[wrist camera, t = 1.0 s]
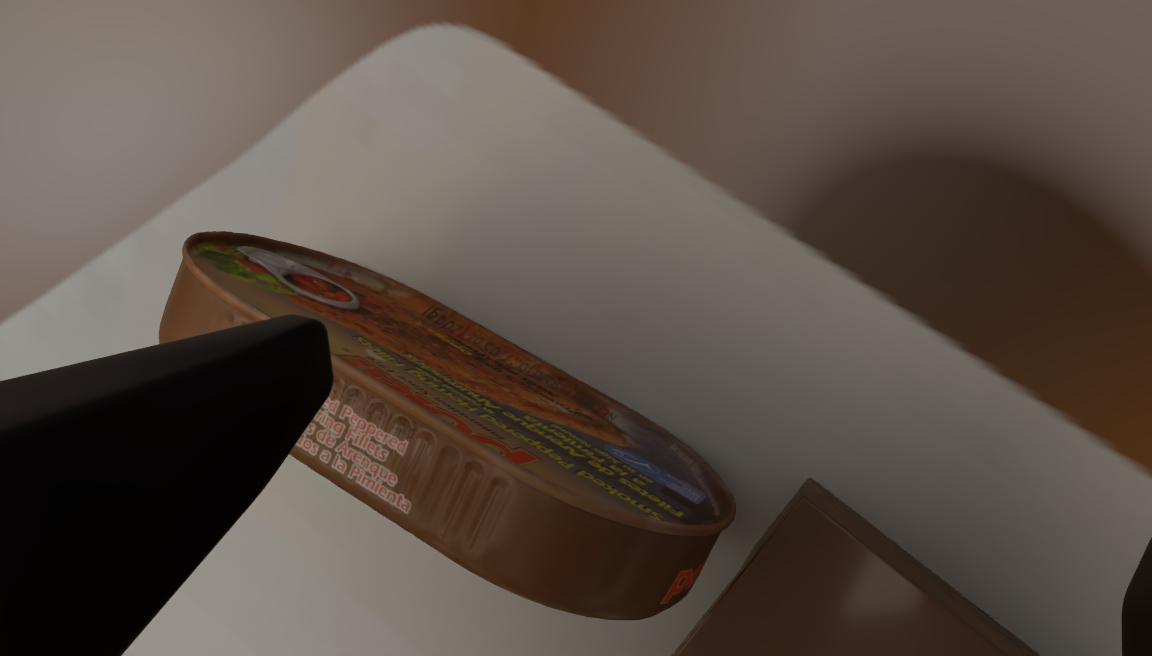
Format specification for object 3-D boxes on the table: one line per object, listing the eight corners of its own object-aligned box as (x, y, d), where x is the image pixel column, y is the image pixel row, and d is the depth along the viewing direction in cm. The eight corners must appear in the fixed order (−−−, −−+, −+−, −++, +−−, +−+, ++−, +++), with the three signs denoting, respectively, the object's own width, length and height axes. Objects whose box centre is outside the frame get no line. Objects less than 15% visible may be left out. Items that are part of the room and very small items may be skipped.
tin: (761, 481, 23) (706, 543, 15) (707, 583, 23) (625, 697, 15) (333, 241, 27) (114, 190, 19) (292, 330, 28) (62, 315, 20)
